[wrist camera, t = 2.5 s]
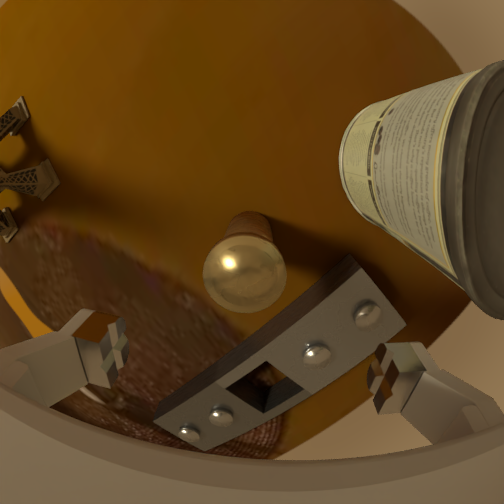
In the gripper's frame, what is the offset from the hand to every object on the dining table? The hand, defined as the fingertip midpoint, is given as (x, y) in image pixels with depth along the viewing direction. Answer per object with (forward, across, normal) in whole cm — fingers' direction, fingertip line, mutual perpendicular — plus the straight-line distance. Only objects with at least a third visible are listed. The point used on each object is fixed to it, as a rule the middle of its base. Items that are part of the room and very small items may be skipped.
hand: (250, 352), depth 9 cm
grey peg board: (+14, -2, +13) cm, 19 cm away
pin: (+14, +1, 0) cm, 14 cm away
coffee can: (+14, -10, -6) cm, 19 cm away
